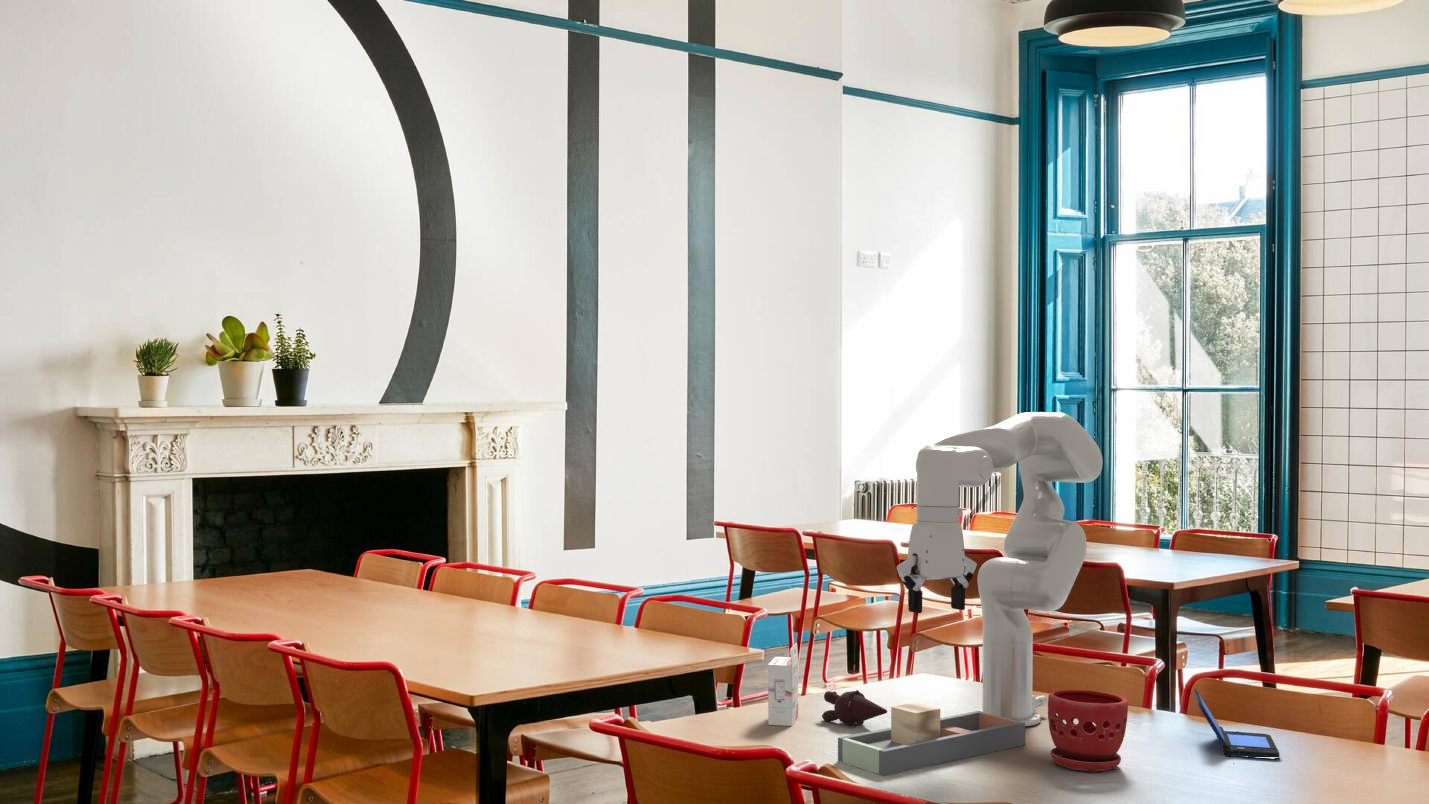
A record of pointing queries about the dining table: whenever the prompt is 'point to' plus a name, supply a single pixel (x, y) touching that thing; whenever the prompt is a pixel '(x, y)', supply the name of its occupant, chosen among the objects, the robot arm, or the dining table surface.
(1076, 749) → the plant pot
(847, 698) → the gnome figurine
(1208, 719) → the handheld game console
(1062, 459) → the robot arm
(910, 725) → the maple block
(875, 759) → the compartment tray
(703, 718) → the dining table surface
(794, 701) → the ink cartridge box
